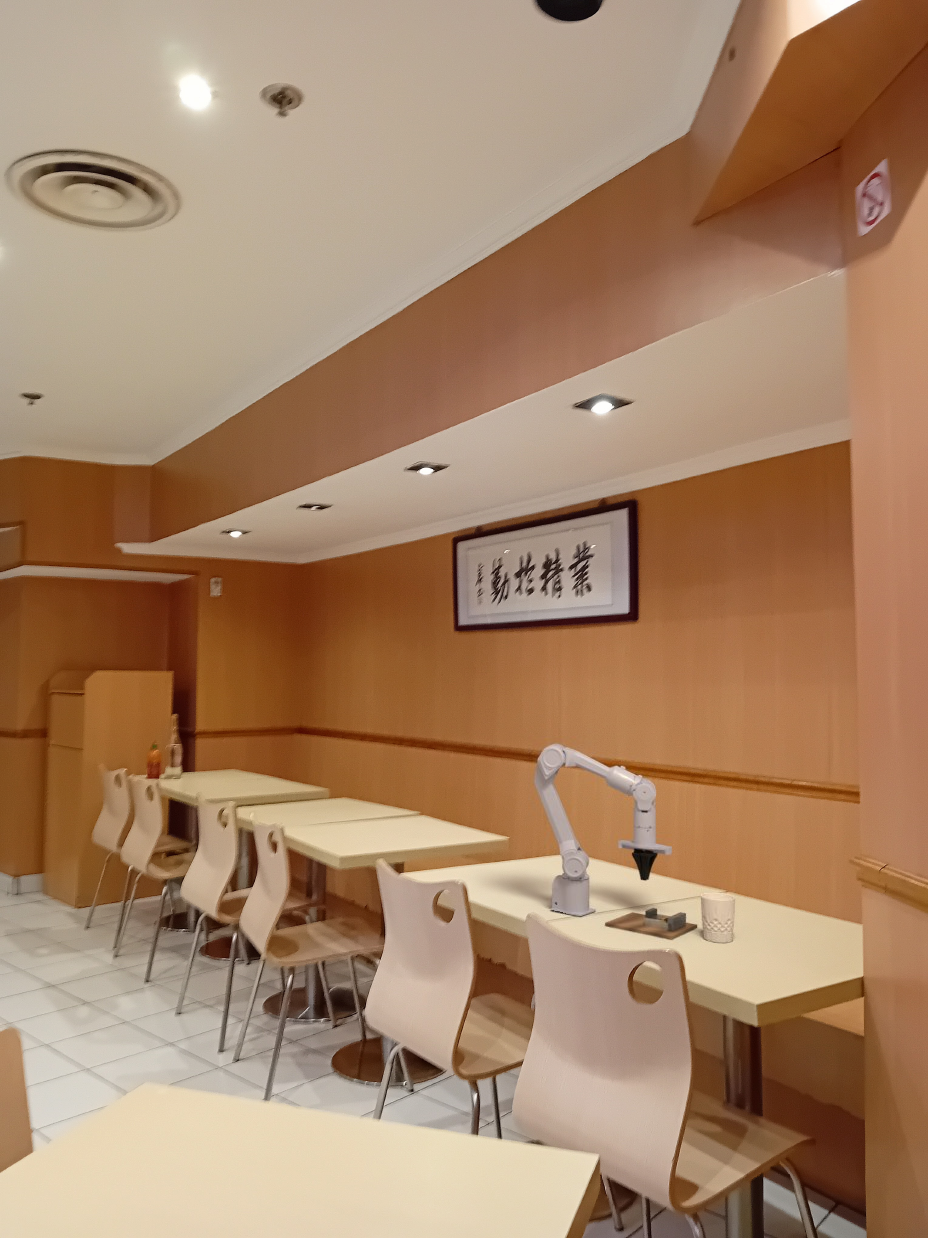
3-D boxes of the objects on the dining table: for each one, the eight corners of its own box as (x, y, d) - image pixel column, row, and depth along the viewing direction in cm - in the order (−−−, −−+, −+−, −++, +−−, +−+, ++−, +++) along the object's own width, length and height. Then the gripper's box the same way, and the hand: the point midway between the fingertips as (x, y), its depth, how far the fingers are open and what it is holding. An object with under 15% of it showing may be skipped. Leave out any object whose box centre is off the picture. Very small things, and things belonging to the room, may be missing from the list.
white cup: (736, 945, 209) (736, 901, 210) (701, 942, 211) (701, 899, 212) (733, 936, 217) (733, 893, 218) (700, 933, 219) (699, 891, 219)
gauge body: (644, 926, 221) (644, 913, 222) (657, 921, 227) (657, 908, 227) (673, 932, 217) (673, 918, 217) (686, 926, 222) (686, 913, 222)
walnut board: (605, 926, 224) (605, 922, 224) (632, 915, 235) (632, 912, 235) (671, 940, 213) (671, 936, 213) (697, 928, 224) (697, 924, 224)
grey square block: (641, 925, 221) (641, 912, 222) (652, 921, 226) (652, 908, 226) (664, 930, 218) (664, 916, 218) (675, 925, 222) (675, 912, 222)
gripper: (677, 828, 234) (677, 881, 233) (627, 822, 243) (627, 873, 242) (664, 831, 229) (664, 886, 228) (614, 825, 238) (614, 877, 237)
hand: (644, 879), depth 235 cm, fingers closed
